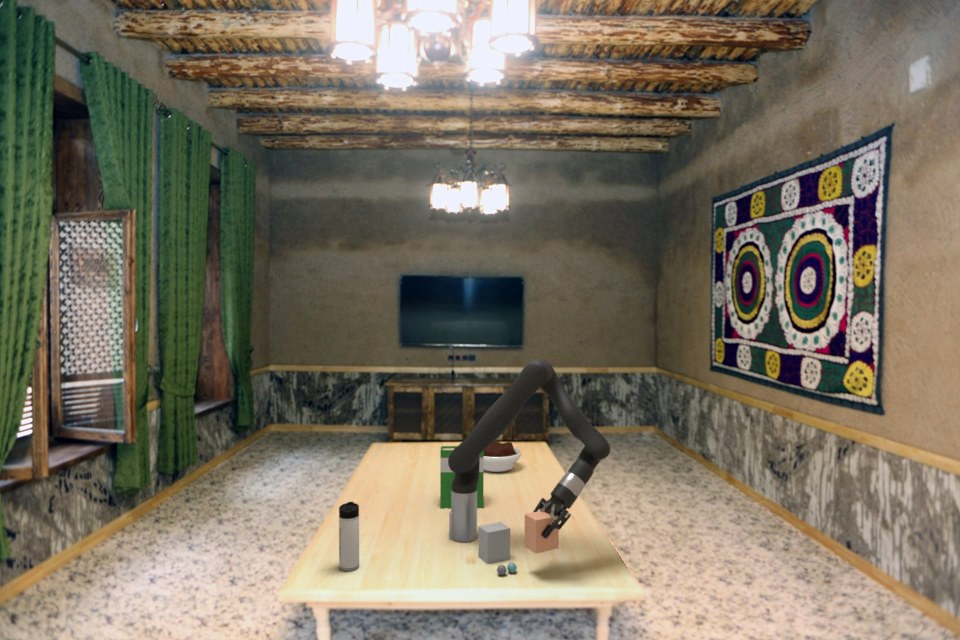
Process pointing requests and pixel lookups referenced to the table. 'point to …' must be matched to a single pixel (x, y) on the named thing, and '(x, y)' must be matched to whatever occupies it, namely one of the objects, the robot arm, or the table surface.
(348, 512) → the travel mug
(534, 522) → the terracotta clay block
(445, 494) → the hardback book
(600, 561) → the table surface
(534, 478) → the table surface
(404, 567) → the table surface
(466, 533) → the robot arm
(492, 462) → the chocolate pudding bowl
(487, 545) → the grey upright block
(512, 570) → the marble teal
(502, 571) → the marble charcoal
